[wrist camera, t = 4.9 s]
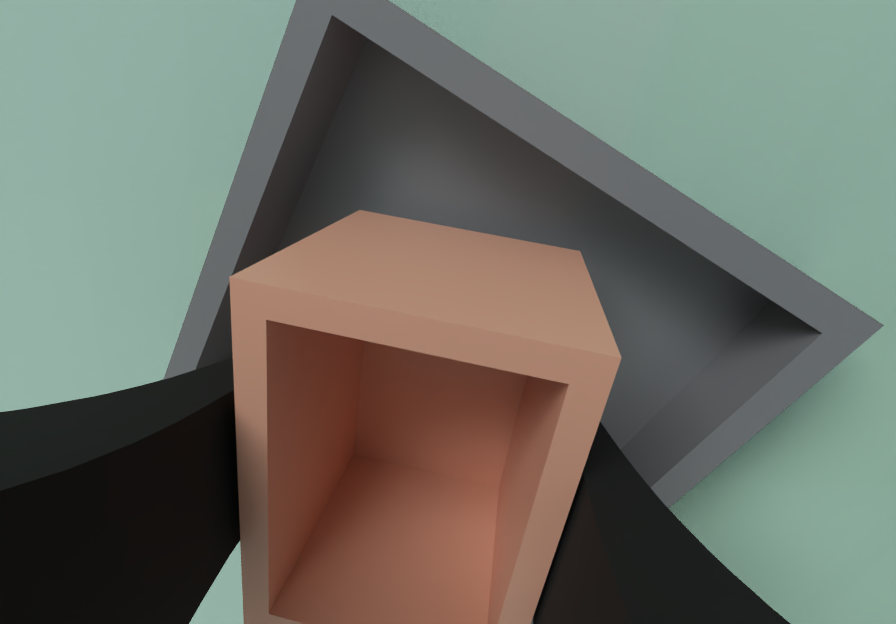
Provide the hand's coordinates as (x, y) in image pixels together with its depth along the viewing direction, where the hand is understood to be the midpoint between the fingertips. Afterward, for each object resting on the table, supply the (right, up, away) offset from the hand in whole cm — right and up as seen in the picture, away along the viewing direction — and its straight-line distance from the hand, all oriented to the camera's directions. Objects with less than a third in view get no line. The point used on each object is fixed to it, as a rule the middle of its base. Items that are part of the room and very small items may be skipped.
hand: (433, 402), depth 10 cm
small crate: (0, +1, +1) cm, 2 cm away
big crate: (+1, +1, +3) cm, 3 cm away
